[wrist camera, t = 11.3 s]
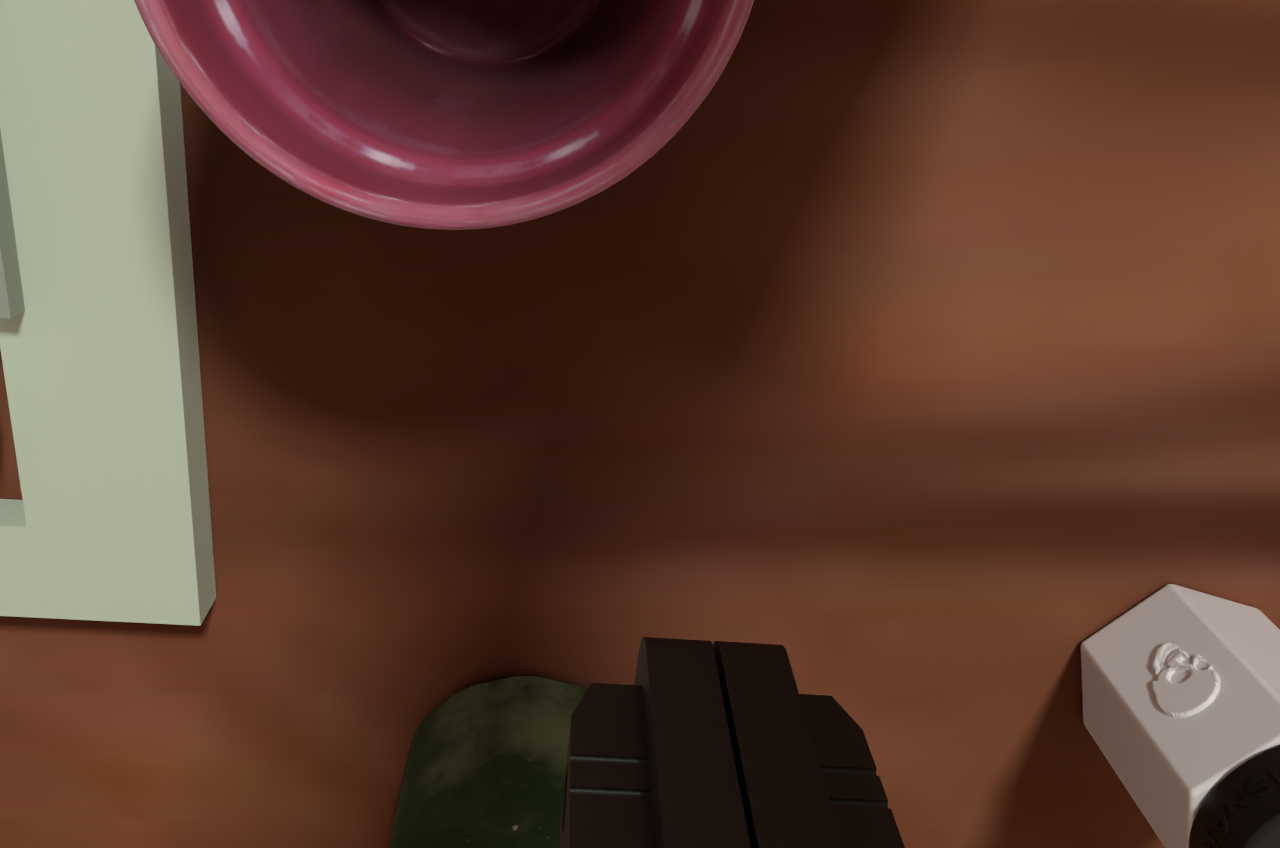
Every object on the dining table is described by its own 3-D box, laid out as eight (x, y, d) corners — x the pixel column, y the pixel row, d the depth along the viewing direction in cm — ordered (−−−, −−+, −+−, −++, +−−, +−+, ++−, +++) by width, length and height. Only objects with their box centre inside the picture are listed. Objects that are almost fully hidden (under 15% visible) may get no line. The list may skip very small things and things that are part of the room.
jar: (1210, 546, 45) (1413, 735, 34) (1298, 662, 48) (1512, 872, 37) (1033, 667, 47) (1171, 882, 36) (1126, 772, 50) (1281, 1001, 39)
